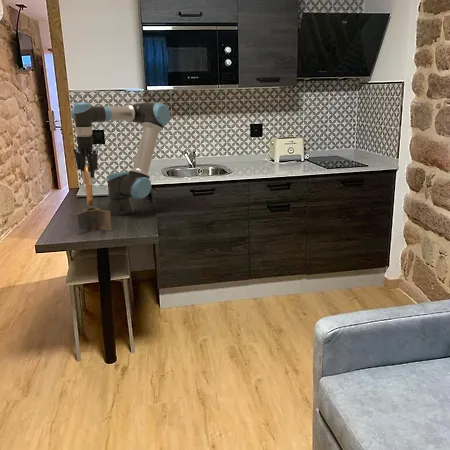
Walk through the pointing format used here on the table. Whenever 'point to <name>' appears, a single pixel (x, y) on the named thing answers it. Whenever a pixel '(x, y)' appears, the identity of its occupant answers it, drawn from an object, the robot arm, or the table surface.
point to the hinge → (93, 220)
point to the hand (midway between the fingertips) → (88, 183)
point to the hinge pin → (88, 187)
